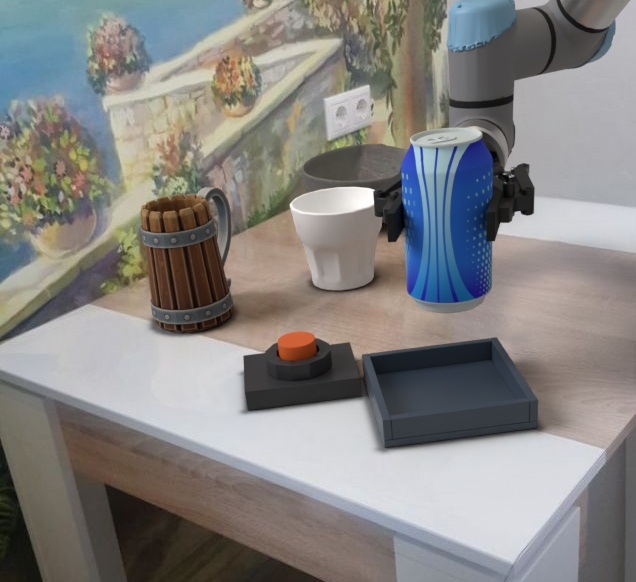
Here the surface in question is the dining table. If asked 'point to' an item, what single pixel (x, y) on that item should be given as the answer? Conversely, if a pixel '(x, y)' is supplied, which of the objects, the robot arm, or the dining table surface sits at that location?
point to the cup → (338, 235)
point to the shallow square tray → (447, 392)
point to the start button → (297, 346)
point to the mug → (188, 260)
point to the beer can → (447, 219)
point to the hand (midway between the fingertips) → (440, 227)
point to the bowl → (353, 167)
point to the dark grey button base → (301, 377)
